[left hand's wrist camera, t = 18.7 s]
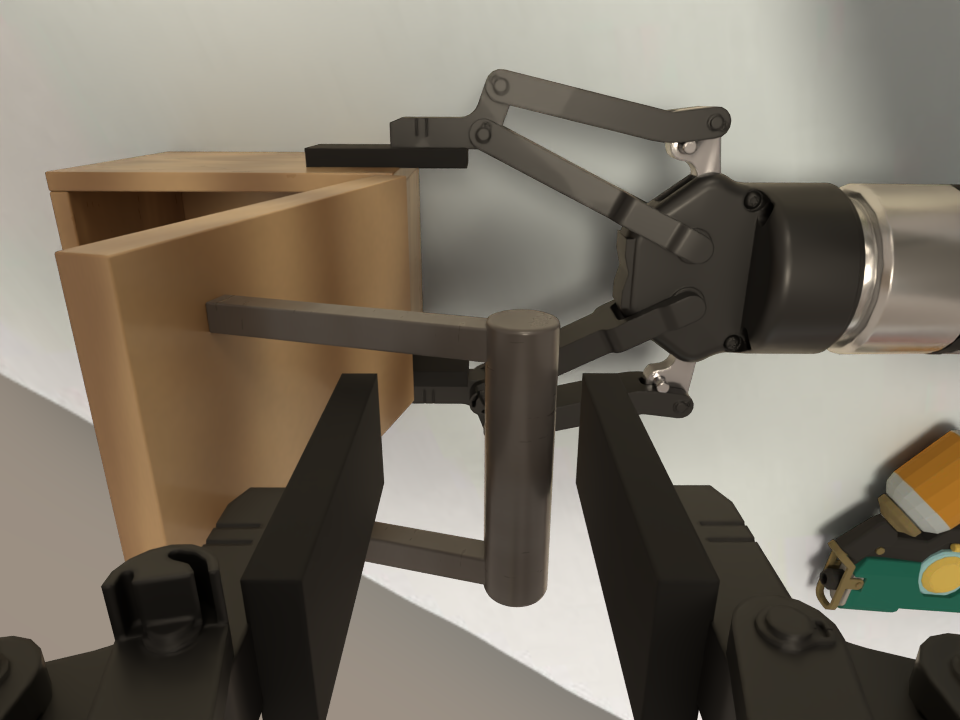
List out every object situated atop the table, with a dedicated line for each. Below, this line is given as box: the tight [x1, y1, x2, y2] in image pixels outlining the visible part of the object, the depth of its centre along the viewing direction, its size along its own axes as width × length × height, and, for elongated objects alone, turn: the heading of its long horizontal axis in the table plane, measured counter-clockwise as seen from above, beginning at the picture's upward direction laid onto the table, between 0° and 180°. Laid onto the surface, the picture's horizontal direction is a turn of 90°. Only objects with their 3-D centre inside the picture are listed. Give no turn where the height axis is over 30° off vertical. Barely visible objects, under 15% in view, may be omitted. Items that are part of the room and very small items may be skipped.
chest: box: [45, 152, 423, 312], centre depth 31 cm, size 13×9×10 cm
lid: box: [55, 175, 560, 607], centre depth 19 cm, size 14×9×9 cm
